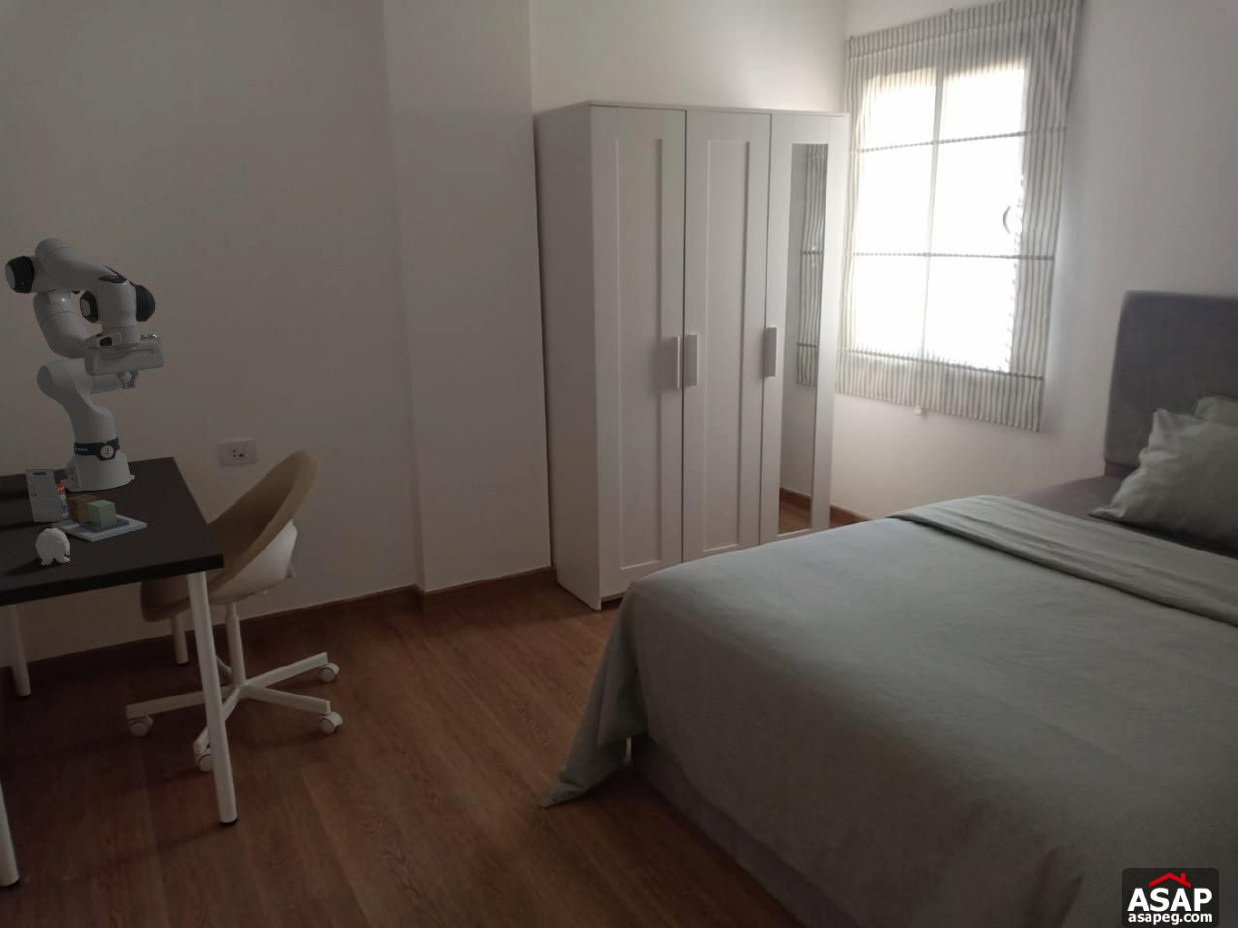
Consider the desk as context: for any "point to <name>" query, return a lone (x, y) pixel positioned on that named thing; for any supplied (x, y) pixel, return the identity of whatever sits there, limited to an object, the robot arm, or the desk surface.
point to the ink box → (46, 497)
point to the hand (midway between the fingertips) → (129, 388)
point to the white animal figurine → (52, 546)
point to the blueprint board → (89, 532)
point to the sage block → (102, 513)
